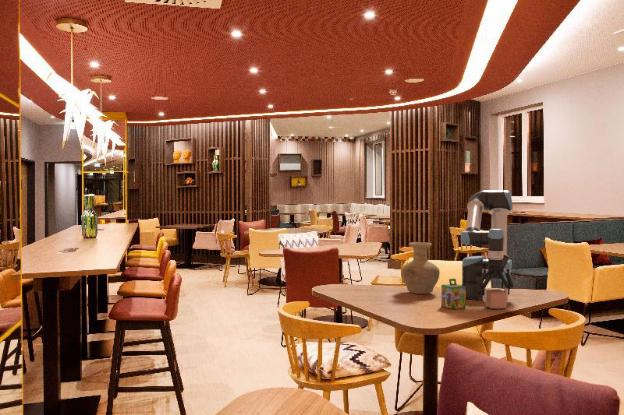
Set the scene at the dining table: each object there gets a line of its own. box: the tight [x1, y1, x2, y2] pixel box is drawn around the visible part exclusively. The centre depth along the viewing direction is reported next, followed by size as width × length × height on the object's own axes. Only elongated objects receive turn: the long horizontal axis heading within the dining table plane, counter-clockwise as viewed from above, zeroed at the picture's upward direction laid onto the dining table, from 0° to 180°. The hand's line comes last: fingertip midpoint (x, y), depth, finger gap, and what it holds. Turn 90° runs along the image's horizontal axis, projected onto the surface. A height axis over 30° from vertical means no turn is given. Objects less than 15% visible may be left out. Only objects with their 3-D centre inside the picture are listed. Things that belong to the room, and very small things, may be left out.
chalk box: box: [440, 278, 467, 310], centre depth 276 cm, size 9×9×15 cm
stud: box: [487, 306, 503, 311], centre depth 274 cm, size 7×7×8 cm
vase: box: [400, 241, 441, 295], centre depth 315 cm, size 22×22×30 cm
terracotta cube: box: [484, 288, 507, 309], centre depth 274 cm, size 8×8×8 cm
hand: (495, 301), depth 274 cm, fingers open, 11 cm apart
